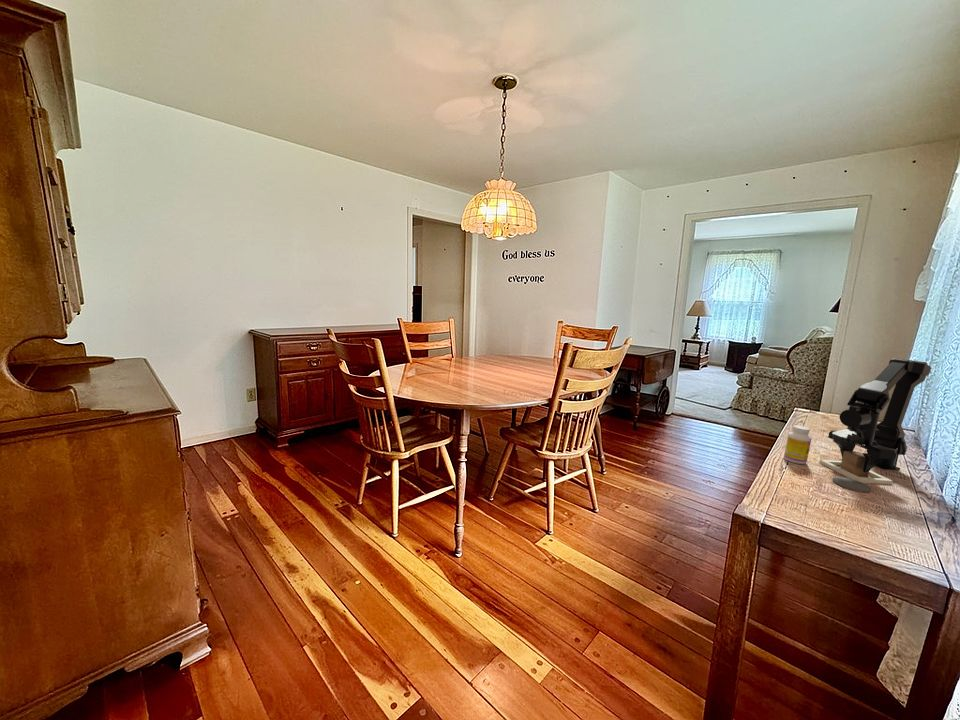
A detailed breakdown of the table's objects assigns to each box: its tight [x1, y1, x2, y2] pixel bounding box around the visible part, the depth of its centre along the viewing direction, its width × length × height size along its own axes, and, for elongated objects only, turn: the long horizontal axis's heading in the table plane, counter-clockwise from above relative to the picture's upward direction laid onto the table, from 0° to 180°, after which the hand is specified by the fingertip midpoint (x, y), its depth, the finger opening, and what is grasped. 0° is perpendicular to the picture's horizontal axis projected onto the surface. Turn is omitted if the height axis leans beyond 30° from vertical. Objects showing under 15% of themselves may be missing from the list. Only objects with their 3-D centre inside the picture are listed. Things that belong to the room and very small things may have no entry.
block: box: [839, 450, 869, 478], centre depth 133 cm, size 5×5×7 cm
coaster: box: [832, 476, 872, 493], centre depth 124 cm, size 9×9×1 cm
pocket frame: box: [819, 459, 893, 485], centre depth 133 cm, size 11×15×1 cm
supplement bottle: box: [783, 424, 812, 465], centre depth 140 cm, size 7×7×13 cm
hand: (854, 467), depth 133 cm, fingers open, 7 cm apart
